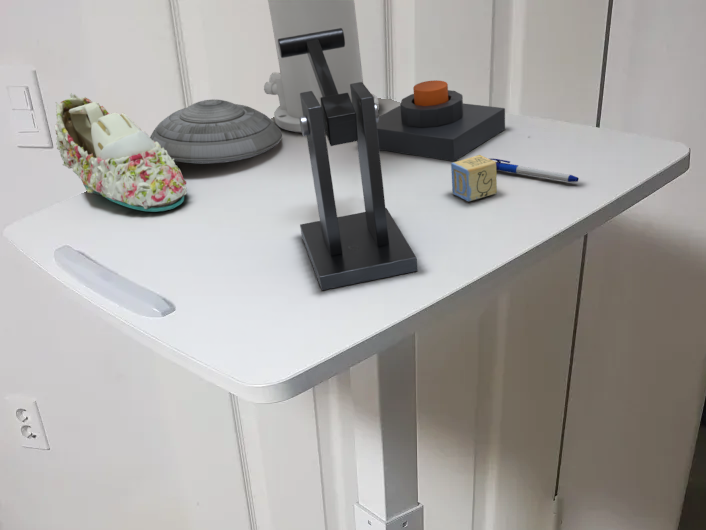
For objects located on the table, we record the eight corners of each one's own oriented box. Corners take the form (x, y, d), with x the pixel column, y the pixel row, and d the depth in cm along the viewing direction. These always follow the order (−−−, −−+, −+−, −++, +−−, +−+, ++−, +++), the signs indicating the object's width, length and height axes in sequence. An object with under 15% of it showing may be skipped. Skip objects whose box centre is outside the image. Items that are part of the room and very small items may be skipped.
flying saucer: (145, 141, 100) (135, 90, 96) (270, 127, 103) (265, 78, 99) (156, 181, 88) (146, 125, 85) (296, 164, 92) (291, 110, 88)
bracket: (302, 237, 76) (275, 85, 68) (387, 220, 77) (371, 67, 68) (321, 290, 68) (294, 125, 59) (417, 271, 69) (404, 105, 60)
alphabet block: (451, 194, 80) (450, 161, 78) (479, 185, 81) (478, 152, 79) (469, 203, 78) (467, 170, 76) (497, 194, 78) (497, 161, 76)
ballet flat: (130, 229, 82) (104, 146, 77) (36, 173, 97) (9, 101, 92) (212, 198, 86) (192, 117, 81) (109, 148, 101) (87, 78, 96)
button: (407, 106, 89) (406, 89, 88) (427, 96, 91) (426, 79, 90) (435, 110, 87) (434, 92, 86) (455, 99, 89) (454, 81, 88)
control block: (362, 147, 92) (358, 108, 89) (415, 117, 98) (413, 80, 95) (454, 161, 86) (452, 120, 83) (505, 129, 91) (504, 89, 89)
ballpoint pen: (479, 169, 83) (479, 158, 82) (484, 166, 84) (484, 155, 83) (576, 184, 78) (576, 173, 77) (580, 181, 78) (581, 170, 78)
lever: (279, 57, 72) (275, 29, 70) (342, 46, 72) (340, 18, 70) (309, 150, 65) (306, 122, 63) (378, 137, 66) (377, 109, 64)
